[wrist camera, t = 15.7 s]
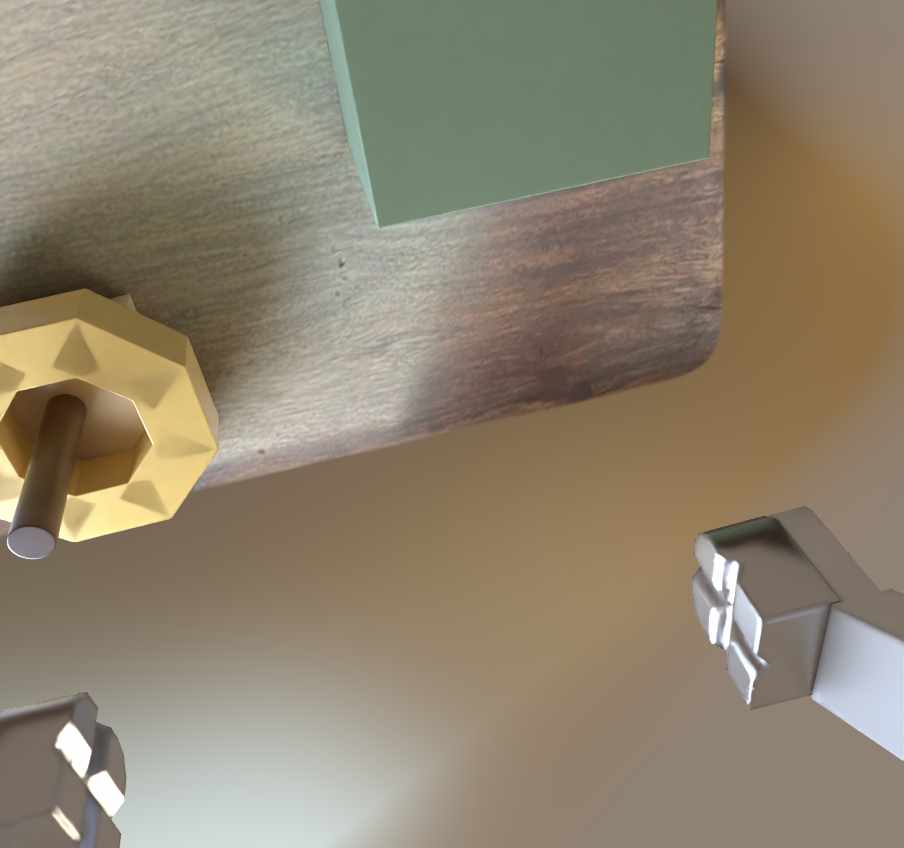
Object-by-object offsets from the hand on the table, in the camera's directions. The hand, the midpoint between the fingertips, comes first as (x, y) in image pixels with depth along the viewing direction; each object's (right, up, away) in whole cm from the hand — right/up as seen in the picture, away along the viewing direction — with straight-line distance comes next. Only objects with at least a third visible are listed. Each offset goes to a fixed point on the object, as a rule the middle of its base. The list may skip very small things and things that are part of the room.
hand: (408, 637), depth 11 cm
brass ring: (-17, +4, +30) cm, 35 cm away
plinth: (+1, +22, +24) cm, 32 cm away
